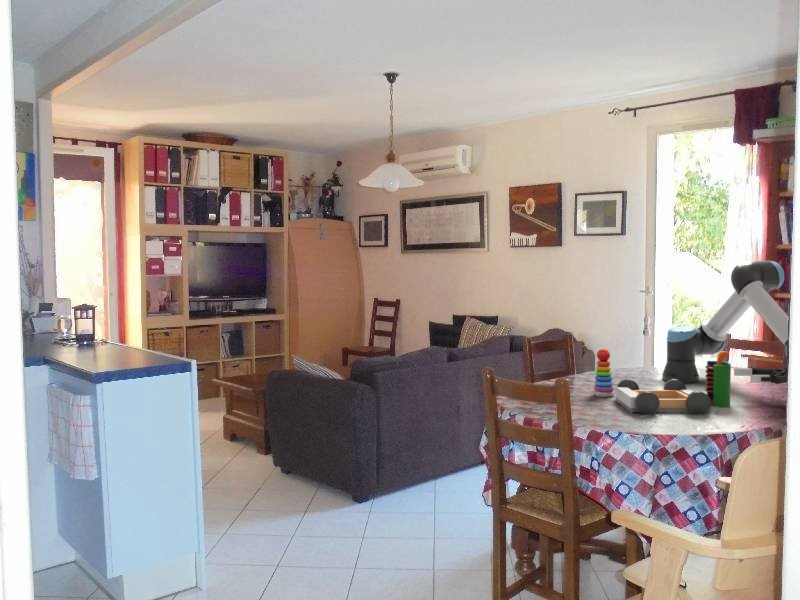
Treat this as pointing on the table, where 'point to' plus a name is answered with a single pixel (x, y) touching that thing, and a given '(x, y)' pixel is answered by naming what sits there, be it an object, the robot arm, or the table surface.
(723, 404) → the motor
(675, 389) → the chassis
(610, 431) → the table surface
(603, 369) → the stacking toy
